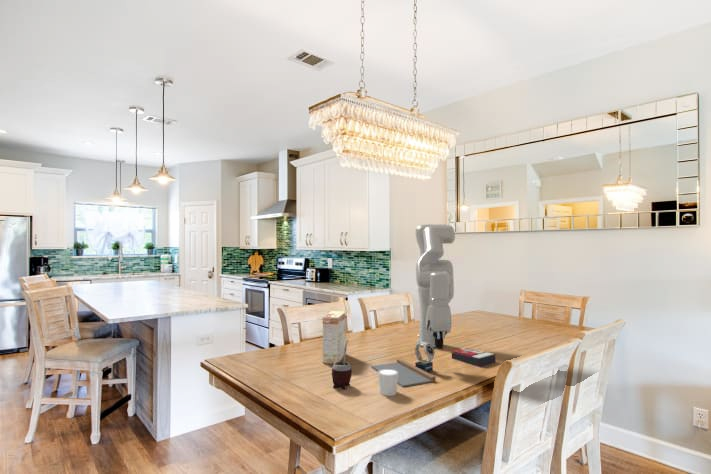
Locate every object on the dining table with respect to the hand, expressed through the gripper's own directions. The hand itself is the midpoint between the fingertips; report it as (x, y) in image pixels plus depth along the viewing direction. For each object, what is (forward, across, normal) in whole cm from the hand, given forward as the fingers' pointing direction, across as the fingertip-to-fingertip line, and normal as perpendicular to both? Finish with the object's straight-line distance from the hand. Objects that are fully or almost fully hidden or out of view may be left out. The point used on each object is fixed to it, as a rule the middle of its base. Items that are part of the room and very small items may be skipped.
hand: (439, 347), depth 158 cm
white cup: (+8, +32, +14) cm, 36 cm away
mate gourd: (+8, +44, +2) cm, 45 cm away
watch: (+8, +7, 0) cm, 11 cm away
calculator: (+9, -20, -3) cm, 22 cm away
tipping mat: (+8, +18, 0) cm, 19 cm away
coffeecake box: (+8, +34, -30) cm, 46 cm away
